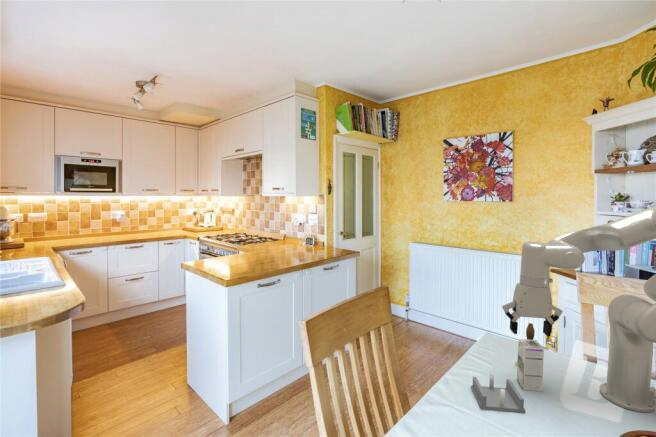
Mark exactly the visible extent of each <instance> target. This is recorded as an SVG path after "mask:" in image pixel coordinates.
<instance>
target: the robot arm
mask: <svg viewBox="0 0 656 437" xmlns="http://www.w3.org/2000/svg"><path fill="white" fill-rule="evenodd" d="M653 240H656V205H653V206H651V207H647V208H645V209H642V210H639V211H637V212H633V213H631V214H628V215H626V216H623V217H621V218H619V219H616V220H613V221H610V222H607V223H604V224H600V225H599V224H598V225H595V226H592V227H588V228H584V229H580V230H575V231H572V232H569V233H566V234H563V235H561V236H559V237H556V238H553V239H551V240H548V241H547V242H546V243H545V242H541V241H526V242H523V244H522V247H521V260H520V277H519V282H516V284H515V289H514V291H513V297H512V301H511V302H509V303H506V304H504V305H502V306H501V308H502V310H503V312H504V314H505V316H507V317H508V319H510V320H509V330H510V331H511V332H512V333H513V334H514V335H517V334H518V327H519V326H518V325H519V323H518V320H519V319H520V318H532V319H534V318H535V319H544V320H543V328H542V333H543V334H544V335H546V336H547V337H548V338H549V337H551V334H552V332H553V331H552V330H553V325H555V322H557V321H558V320H560V317H561V316H562V314H563V310H562V309H560V308H559V307H557V306H555V305H554V304H553V301H552V300H553V299H552V292H551V287H550V286H549V285H550V284H553V283H554V280H553V278H550V268H557V269H561V270H566V271H567V270H568V271H571V270H576V269H579V268H580V267H582V266H583V265H584V263H585V260H586V258H585V253H586V254H587V253H590V252H591V253H592V252H597V251H599V252H601V251H604V252H605V251H608V252H609V251H610V252H611V251H612V252H614V251H615V252H616V251H624V250H628V249H631V248H633V247H636V246H639V245H641V244H645V243H647V242H651V241H653ZM643 292H644V293H645V295H646V297H648V298H650V299H651V300H652V301H654V302H655V303H652V302H650V301H648V300H645V299H643V298H641V297H638V296H635V295H631V294H621V295H618V296H616V297H614V298H613V299H612V300H611V301H610V302H609V305H608V308H607V309H608V311H607V315H608V321H609V322H608V323H609V345H608V346H609V347H608V356H607V357H608V360H607V371H606V373H607V374H606V382H604V383H602V384H600V385H599V393H600V394H601V395H602V396H603V397H604V399H607V400H608V401H609V402H611V403H613V404H615V405H617V406H618V407H622V408H624V409H627V410H631V411H635V412H638V413H639V412H640V413H652V412H654V411H656V410H655V409H656V401H655V400H656V387H654V386H651V383H652V382H651V380H652V370H653V359H654V358H653V356H654V343H655V344H656V273H655V274H653V275H652V276H651V277H650V278H648V279H647V280H646V282H645V283H644V285H643ZM510 309H511V310H512V311H513V312H512V313H511V312H510ZM552 311H554V313H553V312H552Z"/></svg>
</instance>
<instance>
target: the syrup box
mask: <svg viewBox="0 0 656 437" xmlns="http://www.w3.org/2000/svg"><path fill="white" fill-rule="evenodd" d="M517 342H518V343H517V361H518V366H516V369H517V371H516V372H517V374H516V381H517V382H518V384H519V385H520V387H521V388H522V390H524V391H530V392H542V393H543V382H544V380H543V379H544V356H545V355H544V354H545V349H544V348H545V347H543V345H542V344H540V342H539V341H538V340H536V339H533V340H532V339H527V338H518V341H517Z"/></svg>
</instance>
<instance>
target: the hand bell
mask: <svg viewBox="0 0 656 437" xmlns="http://www.w3.org/2000/svg"><path fill="white" fill-rule="evenodd" d="M525 335H526V339H532V340H534V338H535V335H536V334H535V328H534V324H533V323H531V322H528V325H527V327H526V330H525ZM515 366H516V367H517V366H518V360H516V361H515Z"/></svg>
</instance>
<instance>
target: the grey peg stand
mask: <svg viewBox="0 0 656 437" xmlns="http://www.w3.org/2000/svg"><path fill="white" fill-rule="evenodd" d="M505 382H506V383H505V387H497V386H494V385H495V372H493V371H490V372H489V385H488V386H485V385H482V384H481V383H480V381H479V379H478V377H477V376H472V384H471V385H470V389H471V392H472V393H473V396H474V399H475V400H476V403H477V405H478V406H479V408H480V410H488V411H497V412H498V411H499V412H506V413H507V412H510V413H520V414H526V409H525V407H524V406H525V405H524V403H525V400H524V398H523V397H522V395H521V393H520V392H519V390H518V389H517V388H516V385H514V383H513V382H512V380H511V379H510V378H506V380H505Z"/></svg>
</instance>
